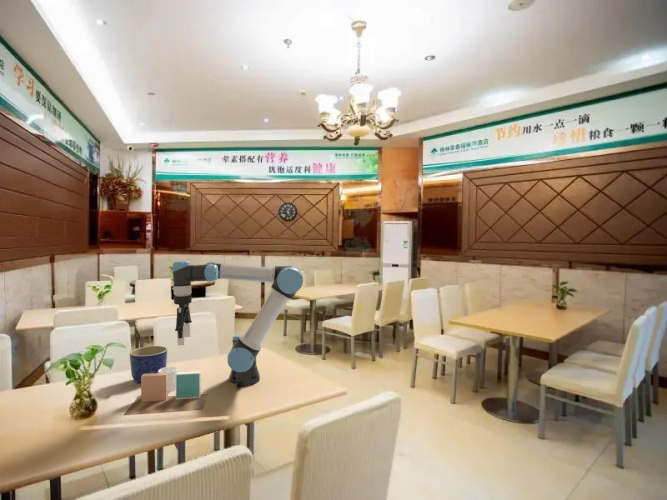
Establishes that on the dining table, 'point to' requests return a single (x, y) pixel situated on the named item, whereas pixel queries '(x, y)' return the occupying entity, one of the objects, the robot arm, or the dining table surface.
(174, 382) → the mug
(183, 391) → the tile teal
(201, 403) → the board
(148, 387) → the tile plain
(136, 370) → the planter
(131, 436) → the dining table surface
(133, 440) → the dining table surface
